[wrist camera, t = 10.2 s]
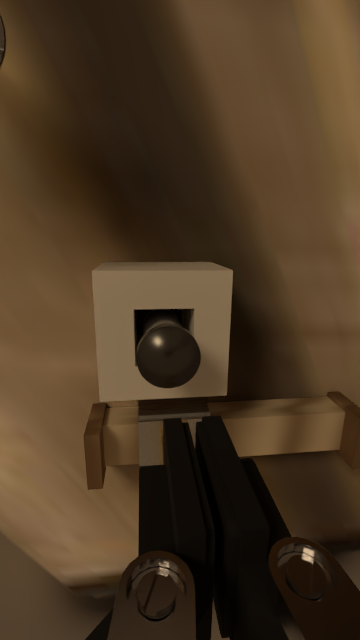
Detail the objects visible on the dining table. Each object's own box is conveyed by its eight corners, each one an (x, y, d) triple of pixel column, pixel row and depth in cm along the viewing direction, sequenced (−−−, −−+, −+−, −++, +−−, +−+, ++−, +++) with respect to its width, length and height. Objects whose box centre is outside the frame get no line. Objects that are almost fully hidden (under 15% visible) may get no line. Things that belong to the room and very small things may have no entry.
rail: (338, 391, 32) (373, 418, 28) (332, 434, 34) (364, 467, 29) (93, 403, 30) (83, 436, 25) (96, 450, 31) (87, 489, 26)
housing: (210, 262, 27) (233, 270, 21) (207, 363, 30) (226, 400, 23) (104, 261, 26) (91, 270, 20) (109, 367, 29) (100, 406, 22)
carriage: (203, 394, 30) (235, 478, 19) (201, 457, 31) (230, 564, 21) (138, 398, 29) (136, 486, 19) (140, 461, 31) (139, 574, 20)
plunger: (185, 302, 24) (201, 327, 18) (184, 347, 25) (200, 387, 18) (137, 303, 24) (135, 328, 17) (138, 348, 25) (137, 389, 18)
